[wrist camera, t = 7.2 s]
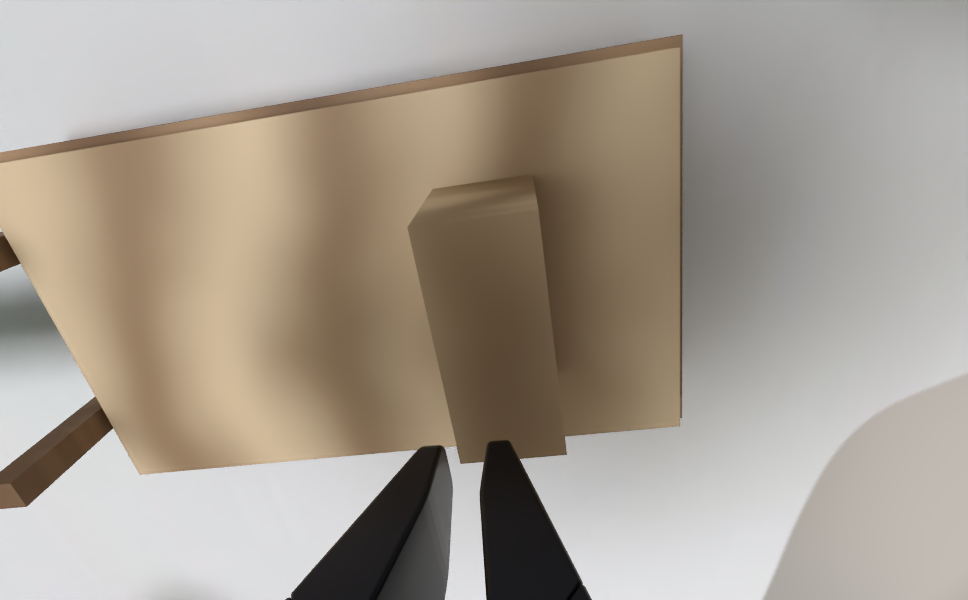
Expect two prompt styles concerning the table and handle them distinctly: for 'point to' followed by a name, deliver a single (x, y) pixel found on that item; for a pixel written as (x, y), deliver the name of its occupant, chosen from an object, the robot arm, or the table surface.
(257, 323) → the lid
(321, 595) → the robot arm
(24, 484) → the toolbox
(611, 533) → the table surface
